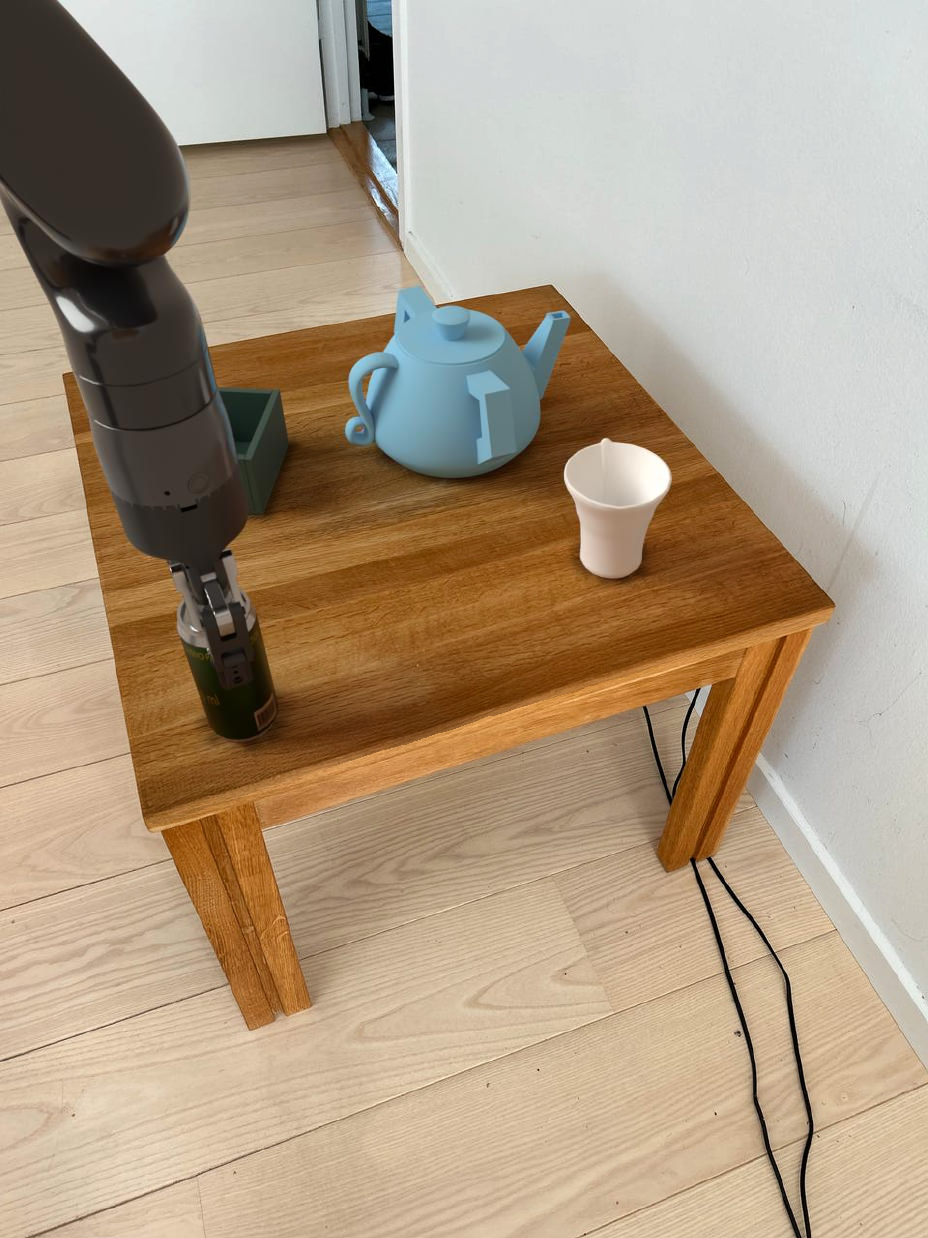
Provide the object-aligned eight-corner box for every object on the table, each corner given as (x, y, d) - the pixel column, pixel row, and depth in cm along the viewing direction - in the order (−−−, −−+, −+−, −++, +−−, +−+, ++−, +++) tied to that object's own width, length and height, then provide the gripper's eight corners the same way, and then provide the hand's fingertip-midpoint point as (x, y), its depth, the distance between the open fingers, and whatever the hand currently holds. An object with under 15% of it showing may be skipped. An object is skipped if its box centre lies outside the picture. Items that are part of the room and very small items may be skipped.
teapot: (500, 509, 88) (504, 382, 78) (324, 462, 94) (307, 337, 84) (565, 405, 100) (576, 284, 91) (406, 369, 106) (400, 250, 96)
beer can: (291, 700, 72) (267, 591, 64) (259, 753, 69) (229, 646, 60) (230, 683, 74) (198, 573, 65) (196, 735, 70) (157, 626, 62)
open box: (146, 508, 89) (128, 453, 84) (181, 438, 97) (167, 384, 92) (263, 515, 88) (251, 459, 83) (289, 444, 96) (280, 389, 91)
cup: (643, 522, 87) (659, 433, 80) (664, 591, 81) (684, 502, 73) (550, 526, 87) (557, 437, 79) (563, 596, 80) (572, 507, 73)
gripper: (84, 412, 57) (152, 605, 69) (130, 555, 48) (199, 747, 60) (204, 384, 59) (250, 575, 72) (269, 515, 50) (308, 708, 63)
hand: (226, 653), depth 66 cm, fingers closed on beer can, 5 cm apart
